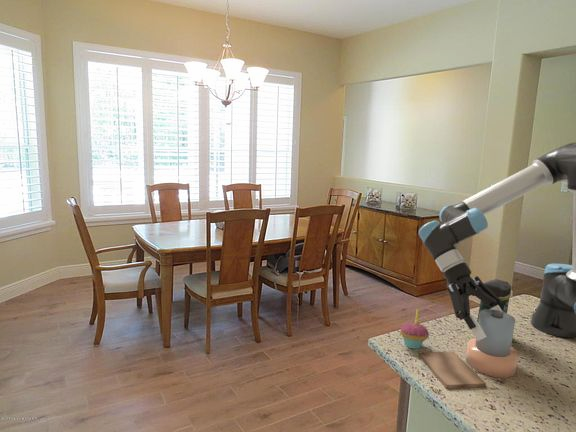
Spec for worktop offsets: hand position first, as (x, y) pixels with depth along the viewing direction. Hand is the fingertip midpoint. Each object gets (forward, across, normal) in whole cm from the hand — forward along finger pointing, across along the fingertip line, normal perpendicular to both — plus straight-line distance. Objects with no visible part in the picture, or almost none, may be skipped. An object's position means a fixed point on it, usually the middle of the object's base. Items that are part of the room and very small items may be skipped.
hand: (495, 333), depth 112 cm
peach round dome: (+7, 0, -7) cm, 10 cm away
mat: (+4, +12, -11) cm, 17 cm away
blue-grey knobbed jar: (+3, 0, -4) cm, 5 cm away
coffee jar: (0, -20, -15) cm, 25 cm away
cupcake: (-6, +10, -21) cm, 24 cm away
